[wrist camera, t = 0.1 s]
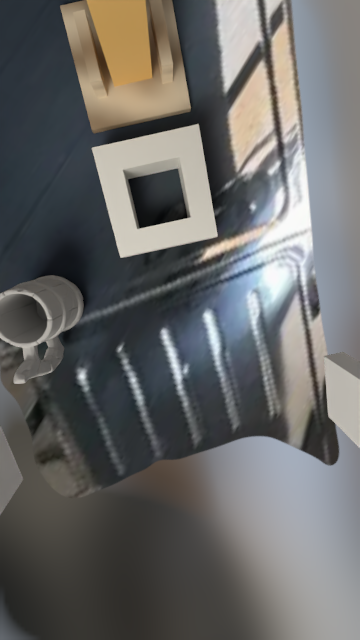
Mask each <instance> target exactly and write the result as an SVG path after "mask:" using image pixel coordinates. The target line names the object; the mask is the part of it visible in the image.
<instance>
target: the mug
mask: <svg viewBox="0 0 360 640" xmlns="http://www.w3.org/2000/svg"><path fill="white" fill-rule="evenodd" d="M83 308H84V304H83V296H82V294H81V292H80V290H79V289H78V287H77V286H76V285H75V284H73V283H72V282H70V281H69V280H67V279H65V278H62V277H59V276H54V275H49V276H43V277H40V278H37V279H35V280H32V281H29V282H24V283H21V284H18V285H17V286H15V287H13V288H12V289H9V290H6V291H4V292H2V293H0V338H1V339H3V340H4V341H6V342H7V343H8V342H10V344H11V345H14V346H17V347H23V355H24V362H23V363H22V364H21V365H20V366H19V368H18V370H17V371H16V373H15V376H14V383H16V384H19V383H25V382H26V381H27V380H28V379H30V378H33V377H36V376H42V375H45V374H47V373H50V372H52V371H54V369H55V368H56V367H57V366H58V365H59V363H60V362H61V360H62V358H63V352H64V347H63V345H62V344H61V343H60V341H59V338H58V335H59V334H60V333H61V332H64V331H66V330H69V329H70V328H72V327H73V326H75V325H76V324H77V323H78V322H79V320H80V318H81V316H82V313H83ZM45 341H46V342H47V345H48V349H47V350H46V354H45V356H44V359H43V360H40V359H39V356H38V350H37V345H38V344H40V343H42V342H45Z"/></svg>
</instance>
